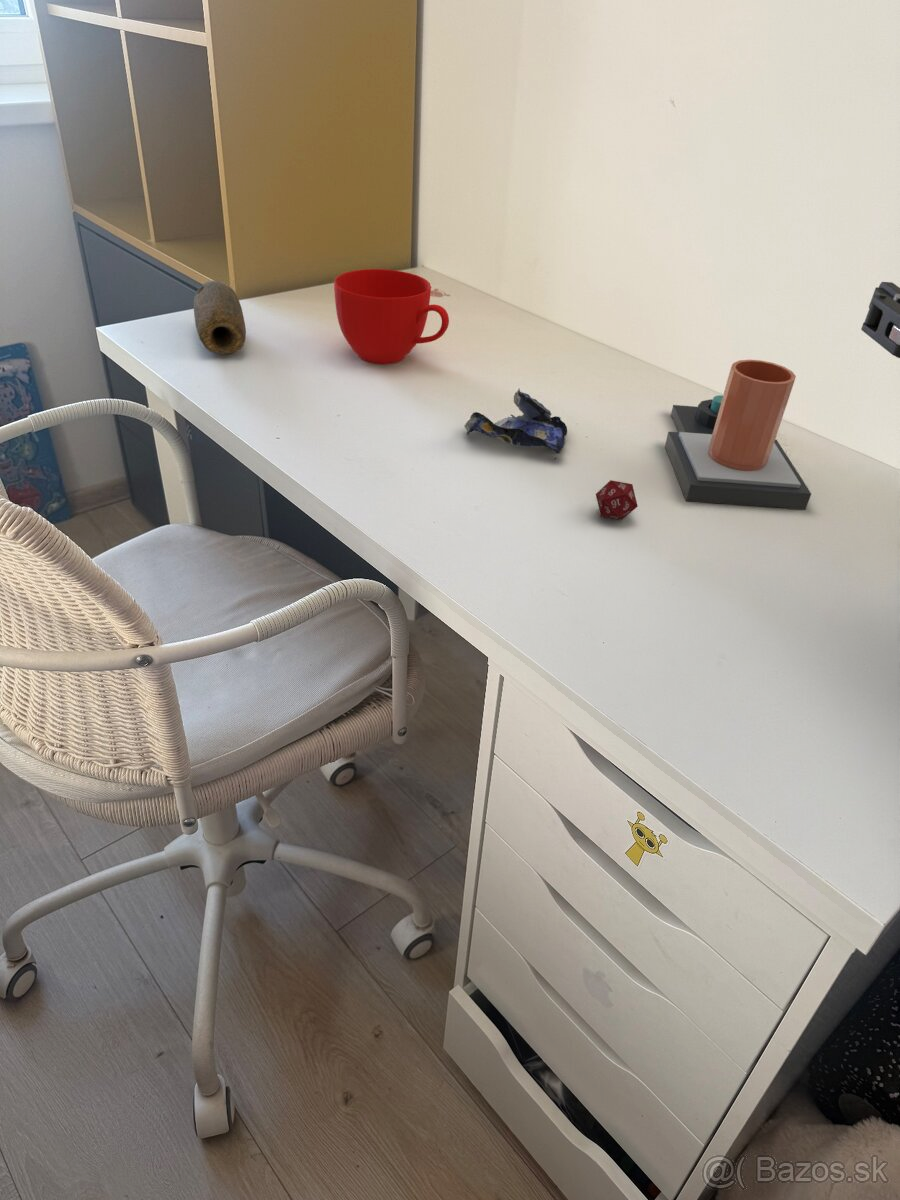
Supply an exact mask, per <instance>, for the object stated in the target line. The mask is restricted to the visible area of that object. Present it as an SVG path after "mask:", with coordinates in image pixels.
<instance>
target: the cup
mask: <svg viewBox="0 0 900 1200" xmlns="http://www.w3.org/2000/svg"><path fill="white" fill-rule="evenodd" d="M796 376H797V375H796V374H795V373H794V372H793V371H792V370H790V369H789V368H787V367H786V366H783V365H781V364H778V363H775V362H771V361H766V360H759V359H742V360H741V359H740V360H737V361H735V362H733V363H732V365H731V366H730V369H729V374H728V377H727V379H726V384H725V387H724V391H723V395H722V396H723V398H722V402H721V405H720V409H719V412H718V416H717V419H716V423H715V427H714V430H713V434H712V437H711V441H710V444H709V449H708V454H709V456H710V457H711V459H713V460H714V461H715V462H717V463H719V464H721V465H723V466H725V467H728V468H732V469H736V470H743V471H755V470H760V469H762V468H764V467H765V466H766V465H767V462H768V460H769V457H770V454H771V451H772V448H773V445H774V442H775V440H776V438H777V436H778V432H779V429H780V426H781V423H782V420H783V417H784V414H785V412H786V408H787V405H788V402H789V399H790V396H791V393H792V390H793V387H794V384H795V381H796V378H797V377H796Z"/></svg>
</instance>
